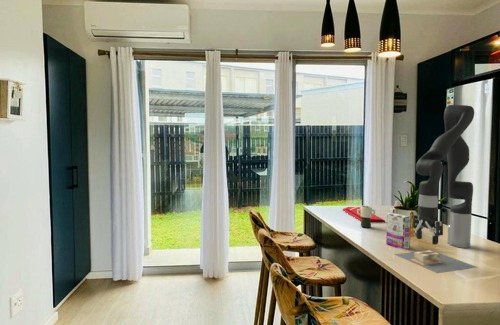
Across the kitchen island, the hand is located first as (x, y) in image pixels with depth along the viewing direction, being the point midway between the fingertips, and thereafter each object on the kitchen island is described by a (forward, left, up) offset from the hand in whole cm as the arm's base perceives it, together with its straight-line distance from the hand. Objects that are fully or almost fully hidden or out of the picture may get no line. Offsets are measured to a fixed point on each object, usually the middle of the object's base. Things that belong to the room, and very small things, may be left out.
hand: (426, 241), depth 147 cm
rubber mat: (0, +4, -9) cm, 10 cm away
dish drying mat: (-90, +33, -10) cm, 96 cm away
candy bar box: (-23, +5, -10) cm, 25 cm away
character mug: (-62, +15, -10) cm, 64 cm away
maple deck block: (0, 0, -9) cm, 9 cm away
